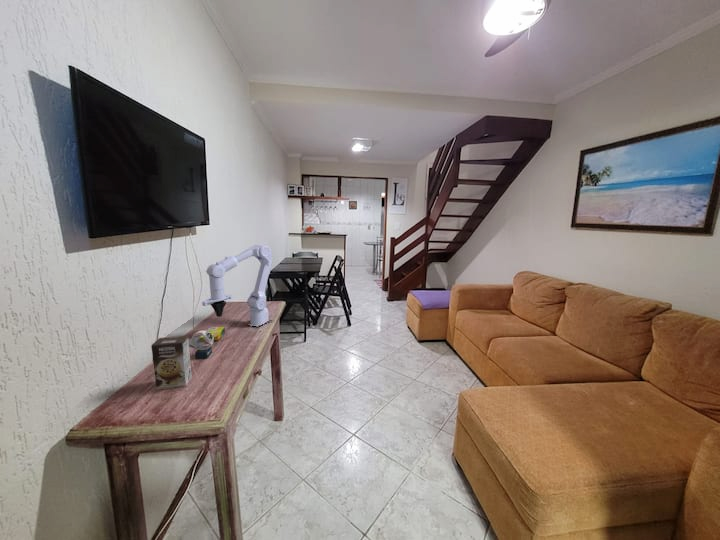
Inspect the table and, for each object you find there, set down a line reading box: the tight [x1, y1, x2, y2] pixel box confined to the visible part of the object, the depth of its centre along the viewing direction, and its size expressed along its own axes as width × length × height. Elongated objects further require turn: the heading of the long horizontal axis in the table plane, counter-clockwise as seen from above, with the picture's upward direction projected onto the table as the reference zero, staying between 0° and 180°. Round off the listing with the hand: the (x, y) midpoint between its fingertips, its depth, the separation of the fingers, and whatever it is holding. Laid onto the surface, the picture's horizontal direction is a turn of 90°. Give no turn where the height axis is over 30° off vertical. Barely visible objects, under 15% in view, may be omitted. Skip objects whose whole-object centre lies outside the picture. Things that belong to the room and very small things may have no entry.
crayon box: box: [200, 326, 226, 341], centre depth 127 cm, size 7×3×12 cm
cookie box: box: [150, 335, 193, 391], centre depth 91 cm, size 9×6×16 cm
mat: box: [188, 334, 224, 348], centre depth 126 cm, size 14×10×1 cm
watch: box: [190, 329, 215, 360], centre depth 110 cm, size 6×8×11 cm
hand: (219, 316), depth 129 cm, fingers closed
